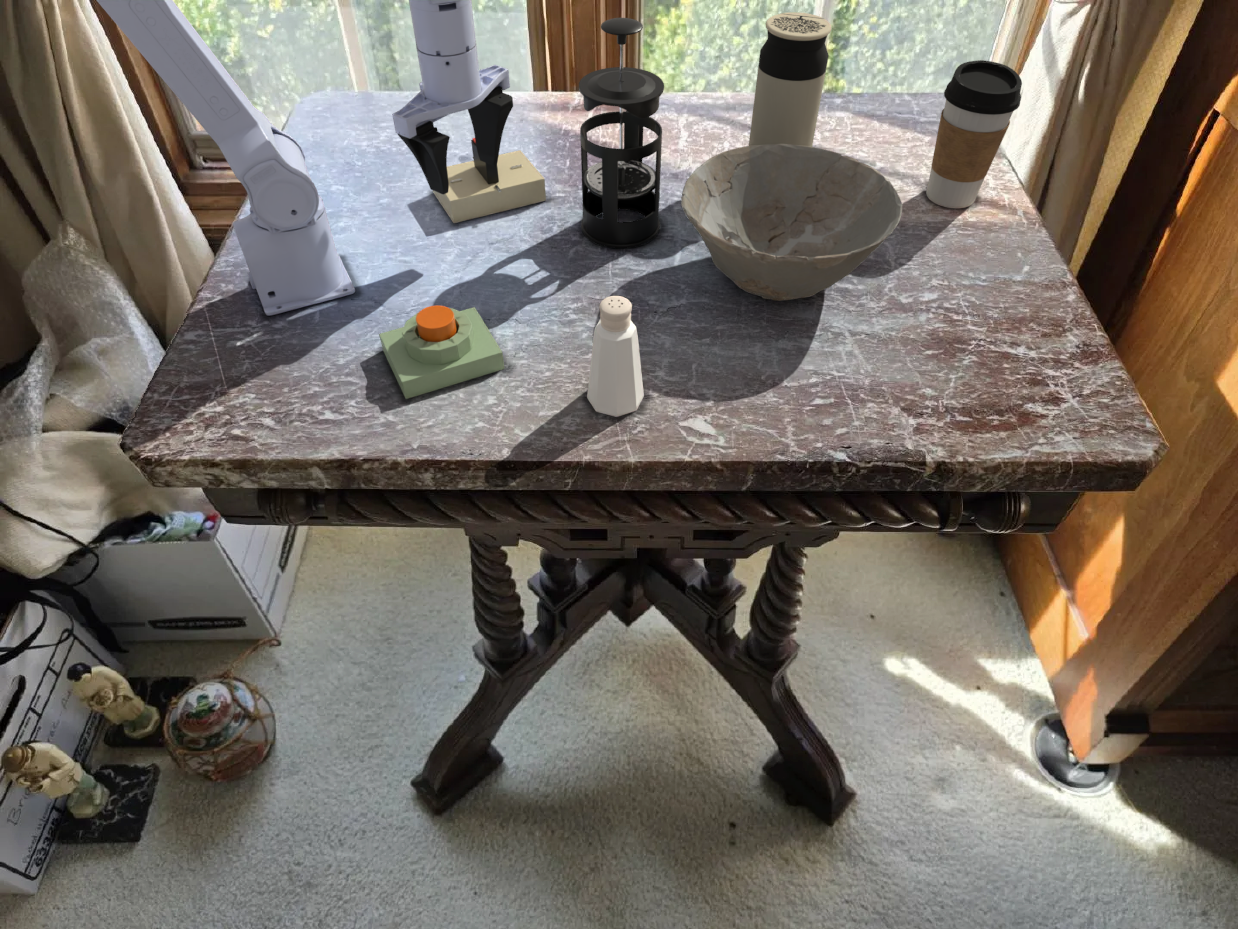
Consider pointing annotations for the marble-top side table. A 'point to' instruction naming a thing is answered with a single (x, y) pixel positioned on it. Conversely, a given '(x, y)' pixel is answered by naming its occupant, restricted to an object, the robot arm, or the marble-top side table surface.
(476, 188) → the dial panel
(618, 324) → the salt shaker
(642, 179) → the french press
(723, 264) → the ceramic bowl
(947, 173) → the coffee cup
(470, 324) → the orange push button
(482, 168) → the knob
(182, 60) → the robot arm
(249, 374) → the marble-top side table surface
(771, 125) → the travel mug
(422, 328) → the button
